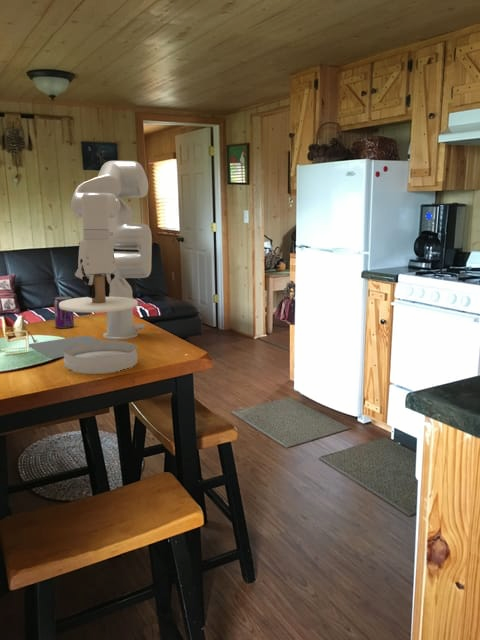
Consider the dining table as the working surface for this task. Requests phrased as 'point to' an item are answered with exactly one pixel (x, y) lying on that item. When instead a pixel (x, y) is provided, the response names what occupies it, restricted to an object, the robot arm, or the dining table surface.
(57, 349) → the mat
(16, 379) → the dining table surface
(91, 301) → the lid
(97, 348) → the dish
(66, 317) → the beverage can
